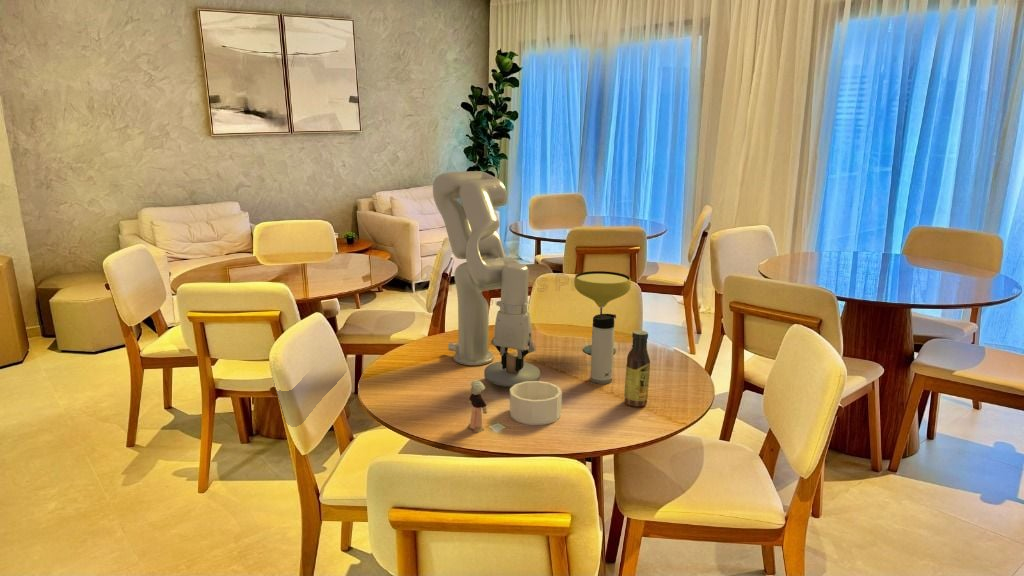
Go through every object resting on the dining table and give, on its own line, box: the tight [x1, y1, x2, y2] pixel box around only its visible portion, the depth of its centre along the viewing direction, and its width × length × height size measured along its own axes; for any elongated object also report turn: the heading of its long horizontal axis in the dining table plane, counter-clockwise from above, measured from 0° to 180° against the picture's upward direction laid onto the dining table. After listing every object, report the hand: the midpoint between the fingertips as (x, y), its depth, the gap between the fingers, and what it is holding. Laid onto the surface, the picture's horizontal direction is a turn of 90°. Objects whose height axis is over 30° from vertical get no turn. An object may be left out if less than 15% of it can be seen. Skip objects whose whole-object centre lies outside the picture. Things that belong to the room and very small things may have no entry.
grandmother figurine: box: [467, 379, 488, 433], centre depth 162 cm, size 8×4×13 cm, turn 45°
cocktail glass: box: [573, 270, 632, 356], centre depth 217 cm, size 18×18×25 cm
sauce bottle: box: [624, 330, 651, 408], centre depth 177 cm, size 7×6×20 cm
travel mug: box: [590, 313, 617, 385], centre depth 192 cm, size 6×7×20 cm
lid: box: [483, 352, 541, 388], centre depth 190 cm, size 16×16×6 cm
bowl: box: [509, 380, 563, 426], centre depth 171 cm, size 13×13×6 cm
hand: (512, 368), depth 191 cm, fingers closed on lid, 3 cm apart
